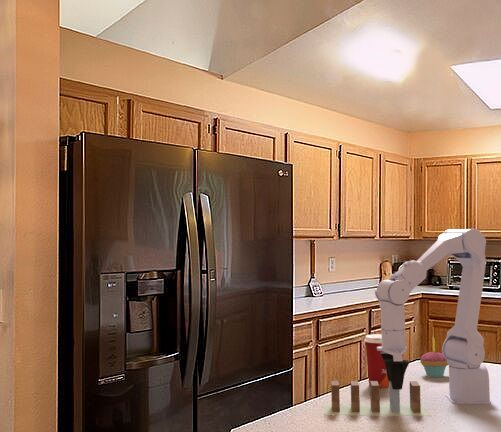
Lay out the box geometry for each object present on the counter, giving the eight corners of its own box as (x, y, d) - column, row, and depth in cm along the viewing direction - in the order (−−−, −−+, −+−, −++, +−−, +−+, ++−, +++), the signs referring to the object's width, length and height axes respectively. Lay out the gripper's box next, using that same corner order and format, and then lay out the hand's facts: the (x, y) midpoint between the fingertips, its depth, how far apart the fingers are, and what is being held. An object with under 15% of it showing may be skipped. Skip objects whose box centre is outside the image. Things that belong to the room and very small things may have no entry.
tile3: (378, 407, 151) (377, 381, 151) (380, 412, 146) (379, 385, 147) (370, 407, 151) (370, 381, 151) (372, 412, 147) (371, 385, 147)
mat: (424, 406, 152) (424, 404, 152) (431, 417, 143) (431, 415, 143) (323, 405, 154) (323, 404, 154) (324, 415, 146) (324, 414, 146)
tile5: (339, 406, 152) (338, 380, 152) (339, 411, 147) (339, 385, 148) (331, 406, 152) (331, 380, 152) (332, 411, 148) (331, 385, 148)
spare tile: (397, 407, 150) (396, 381, 151) (400, 412, 146) (399, 385, 146) (389, 407, 151) (389, 381, 151) (392, 412, 146) (391, 385, 146)
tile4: (358, 406, 151) (357, 381, 152) (359, 412, 147) (359, 385, 147) (351, 406, 152) (350, 380, 152) (352, 412, 147) (351, 385, 147)
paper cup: (393, 389, 169) (392, 338, 169) (365, 388, 170) (363, 338, 171) (392, 382, 176) (391, 333, 177) (365, 381, 178) (364, 333, 178)
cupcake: (418, 372, 188) (417, 333, 189) (447, 372, 187) (446, 333, 187) (422, 379, 180) (421, 338, 180) (452, 379, 179) (451, 338, 179)
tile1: (417, 407, 150) (416, 381, 150) (420, 412, 146) (420, 385, 146) (410, 407, 150) (409, 381, 150) (413, 412, 146) (412, 385, 146)
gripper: (373, 324, 156) (375, 377, 156) (379, 334, 142) (381, 392, 142) (401, 324, 156) (403, 377, 155) (410, 334, 141) (412, 392, 141)
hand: (395, 385), depth 148 cm, fingers open, 7 cm apart
